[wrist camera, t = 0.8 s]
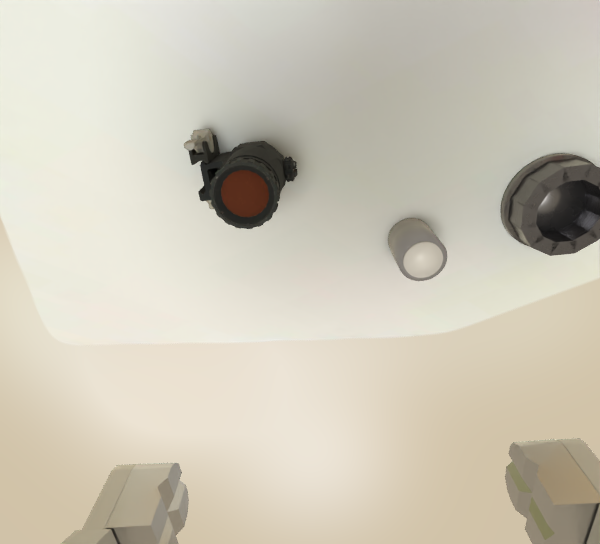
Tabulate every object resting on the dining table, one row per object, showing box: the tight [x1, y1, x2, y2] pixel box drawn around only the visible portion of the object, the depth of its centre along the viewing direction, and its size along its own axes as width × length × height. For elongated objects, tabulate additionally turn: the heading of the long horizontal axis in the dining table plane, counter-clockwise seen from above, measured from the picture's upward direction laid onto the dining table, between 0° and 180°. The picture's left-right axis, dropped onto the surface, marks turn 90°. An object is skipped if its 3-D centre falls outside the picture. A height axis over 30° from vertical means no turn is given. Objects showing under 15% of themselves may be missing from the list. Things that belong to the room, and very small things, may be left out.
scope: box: [184, 129, 297, 229], centre depth 37 cm, size 8×14×10 cm
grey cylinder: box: [388, 218, 447, 281], centre depth 44 cm, size 5×5×6 cm
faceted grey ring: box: [501, 153, 600, 256], centre depth 43 cm, size 10×10×4 cm
